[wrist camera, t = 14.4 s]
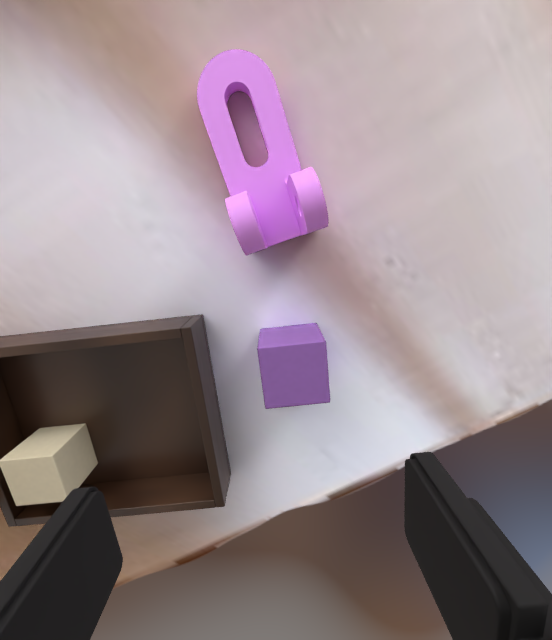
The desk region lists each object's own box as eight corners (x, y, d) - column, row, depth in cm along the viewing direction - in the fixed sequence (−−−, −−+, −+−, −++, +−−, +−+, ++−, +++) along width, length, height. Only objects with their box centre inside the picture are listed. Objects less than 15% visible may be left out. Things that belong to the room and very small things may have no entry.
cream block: (53, 467, 30) (15, 506, 25) (39, 427, 29) (-3, 461, 24) (98, 463, 30) (68, 501, 25) (86, 422, 29) (52, 455, 24)
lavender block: (266, 380, 28) (265, 409, 23) (260, 328, 27) (257, 348, 22) (321, 374, 28) (330, 402, 23) (316, 322, 27) (326, 340, 22)
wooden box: (41, 491, 31) (8, 527, 27) (-16, 338, 27) (-65, 354, 23) (231, 473, 31) (224, 506, 27) (203, 314, 26) (190, 326, 23)
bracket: (316, 229, 25) (332, 225, 18) (252, 252, 25) (243, 256, 18) (262, 48, 22) (257, -39, 15) (189, 78, 22) (152, 6, 15)
